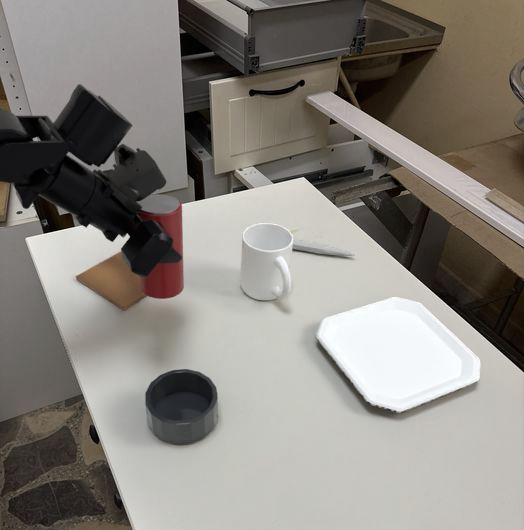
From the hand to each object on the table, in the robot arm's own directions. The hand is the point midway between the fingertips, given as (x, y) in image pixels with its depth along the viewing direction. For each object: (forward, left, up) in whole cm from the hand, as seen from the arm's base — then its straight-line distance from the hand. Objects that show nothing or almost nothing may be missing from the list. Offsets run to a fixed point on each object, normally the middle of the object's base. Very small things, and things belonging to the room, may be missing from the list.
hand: (170, 247), depth 75 cm
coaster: (-8, +11, -13) cm, 19 cm away
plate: (+33, -12, -14) cm, 38 cm away
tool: (+26, +16, -14) cm, 34 cm away
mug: (+16, +5, -14) cm, 22 cm away
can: (-2, -1, -6) cm, 7 cm away
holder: (0, -20, -13) cm, 24 cm away
